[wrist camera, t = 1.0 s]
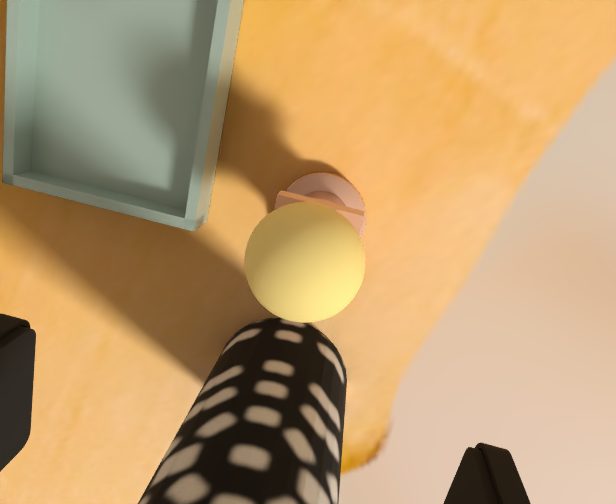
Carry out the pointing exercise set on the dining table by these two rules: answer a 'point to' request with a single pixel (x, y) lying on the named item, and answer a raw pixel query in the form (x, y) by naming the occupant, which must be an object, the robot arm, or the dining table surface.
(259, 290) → the ball
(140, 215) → the tray
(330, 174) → the egg cup
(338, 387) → the white-spotted black cylinder
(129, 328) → the dining table surface
